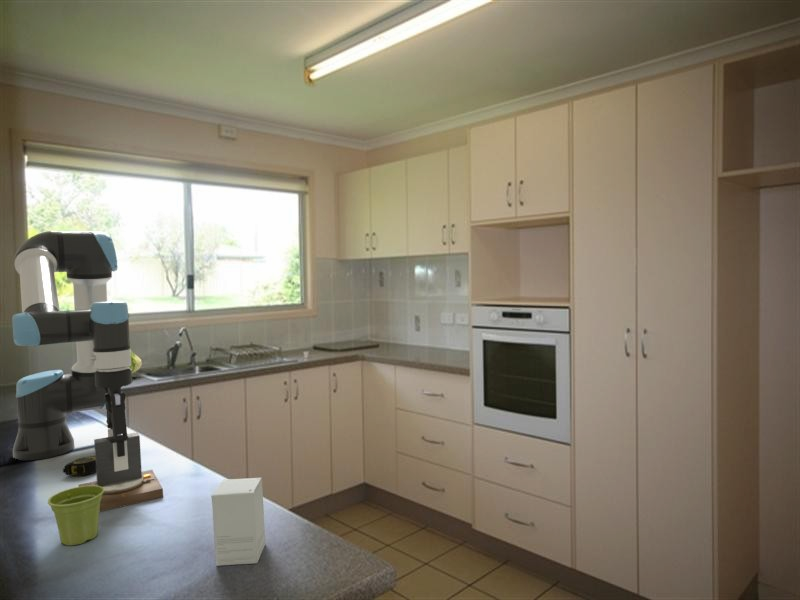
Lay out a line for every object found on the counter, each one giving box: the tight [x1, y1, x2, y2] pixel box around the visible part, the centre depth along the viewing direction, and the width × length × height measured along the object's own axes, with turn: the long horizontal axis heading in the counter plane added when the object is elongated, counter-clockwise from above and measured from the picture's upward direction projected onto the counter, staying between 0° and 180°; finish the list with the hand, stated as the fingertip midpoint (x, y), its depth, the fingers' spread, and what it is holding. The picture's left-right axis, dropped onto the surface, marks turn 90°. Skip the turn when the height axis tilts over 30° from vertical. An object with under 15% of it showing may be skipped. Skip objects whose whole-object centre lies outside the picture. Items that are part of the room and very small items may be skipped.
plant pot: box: [47, 485, 104, 546], centre depth 105 cm, size 9×9×9 cm
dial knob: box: [93, 432, 151, 494], centre depth 126 cm, size 10×12×11 cm
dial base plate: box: [77, 469, 164, 512], centre depth 126 cm, size 15×16×2 cm
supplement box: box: [211, 477, 266, 567], centre depth 97 cm, size 7×7×13 cm
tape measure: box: [62, 455, 96, 477], centre depth 141 cm, size 7×7×4 cm
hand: (118, 462), depth 126 cm, fingers open, 11 cm apart
